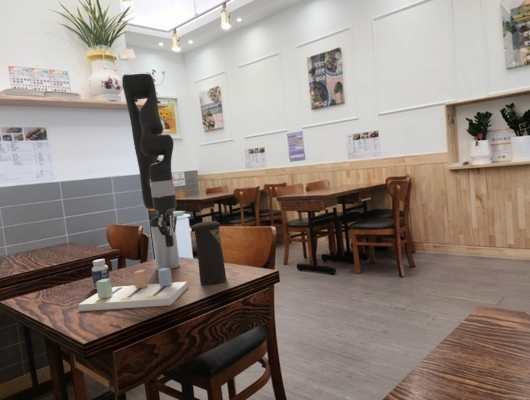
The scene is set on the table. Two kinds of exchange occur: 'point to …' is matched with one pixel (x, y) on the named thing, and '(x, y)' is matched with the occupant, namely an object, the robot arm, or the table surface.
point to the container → (209, 253)
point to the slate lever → (165, 276)
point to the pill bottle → (99, 271)
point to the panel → (136, 297)
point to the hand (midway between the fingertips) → (170, 246)
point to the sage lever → (104, 288)
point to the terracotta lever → (141, 278)
